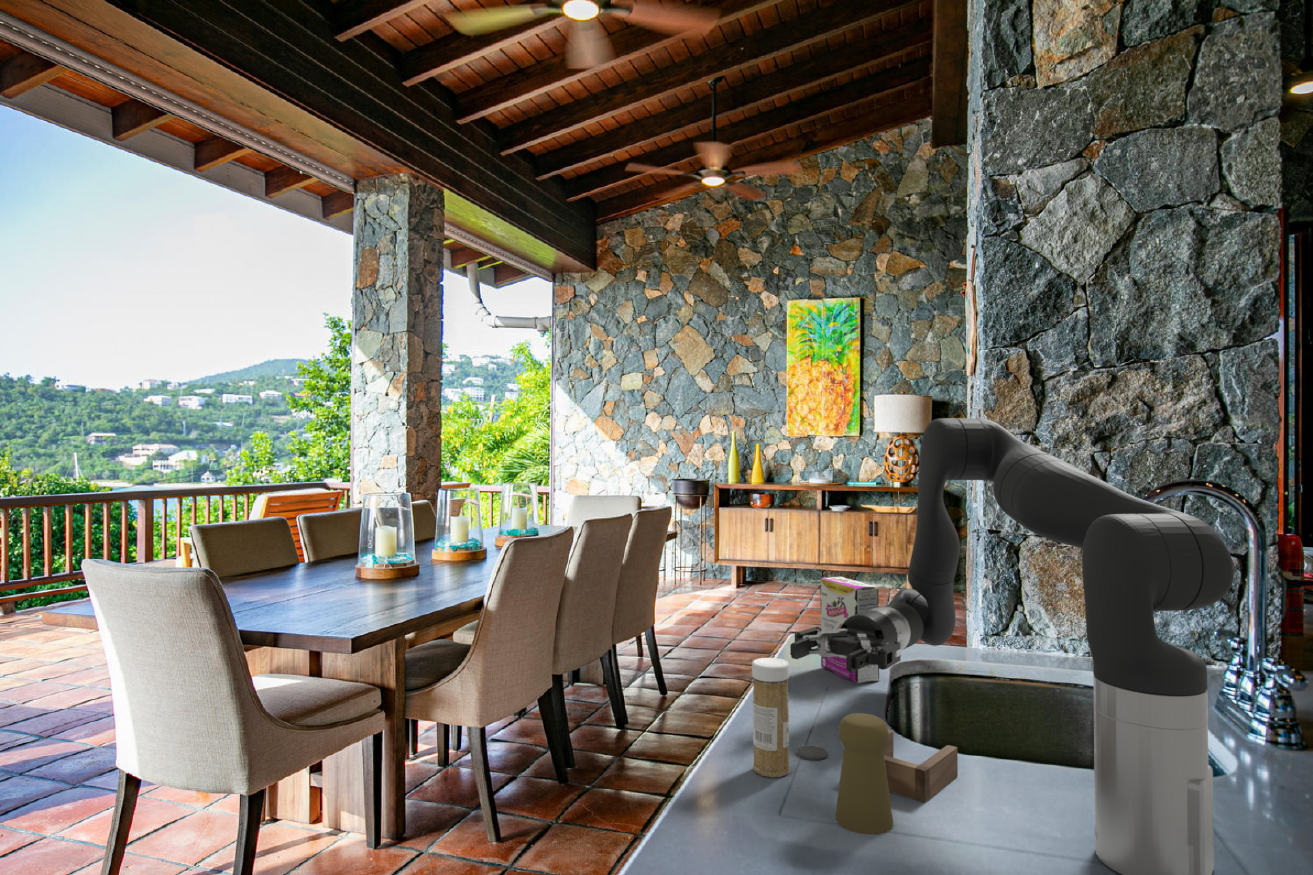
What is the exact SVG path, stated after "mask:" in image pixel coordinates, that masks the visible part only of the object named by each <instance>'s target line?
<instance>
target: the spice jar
mask: <svg viewBox="0 0 1313 875" xmlns="http://www.w3.org/2000/svg"><path fill="white" fill-rule="evenodd" d="M751 676H752V679H753V685H752V686H753V700H752V736H753V738H752V739H753V741H752V743H753V766H752V768H753V771H754V772H755V773H756V774H757V775H760V776H761V777H762V776H763V777H768V778H779V777H780V778H781V777H784V776H786V775H787V774H789V772H790V770H791V769H790V768H791V767H790V761H789V758H790V754H789V745H790V730H789V728H790V727H789V726H790V724H789V720H790V719H789V718H790V715H789V712H790V711H789V705H788V704H789V697H788V696H789V688H788V683H789V679H790V663H789V662H788V661H787V660H785V659H783V658H779V657H778V658H776V657H760V658H756V659H754V660H753V661H752V663H751Z"/></svg>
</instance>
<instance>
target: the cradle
mask: <svg viewBox="0 0 1313 875" xmlns="http://www.w3.org/2000/svg"><path fill="white" fill-rule="evenodd" d="M888 732H889V741H888V745H887V746H886V748H885V749H884V750H883V751H884V758H885V766H886V773H887V780H888V787H889V793H894V794H897V795H899V796H903V797H906V798H910V799H913V800H916V801H919V802H923V803H927V802H928V801H929V800H931V799H932V798H933V797H934V796H936V795H937V794H938V793H939V792H941V791H942V790H943V789H944V788H946V787H947V786H948V785H950V783H952V782H953V781H954V780H956V779H957V777H956V776H958V775H959V774H958V770H959V769H958V768H959V766H958V761H959V759H958V747H957V746H954V745H949V744H947V745H945V746H944V747H942V748H941V749H940V750H938V751H936V752H935V753H934V754H932V755H930V757H928V758H927V759H926V760H924V761H923V762H922V763H920V764H918V763H913V762H910V761H907V760H902V759H899V758H896V757H894V730H890V729H888ZM953 779H954V780H953ZM952 780H953V781H952ZM951 781H952V782H951Z"/></svg>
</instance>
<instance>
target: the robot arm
mask: <svg viewBox="0 0 1313 875" xmlns="http://www.w3.org/2000/svg"><path fill="white" fill-rule="evenodd" d="M921 438H922V439H921V444H920V452H919V465H918V482H917V486H918V487H917V503H916V504H917V508H916V509H917V511H916V529H915V537H914V543H913V547H912V551H911V556H910V561H909V566H908V570H907V581H908V583H909V585H910V587H911V588H903V589H902V588H901V589H899V591H898V592H896V593H895V595H894V596H893V597H892V599H891V601H890V602H889V603H888V604H887V605H885V606H884V605H883V606H882V607H880V606H879V608H873V609H870V610H867V611H864V612H862V613H859V614H856V615H853V616H851V617H849V618H848V619H846V620H845V621H844V623H843V624H842V626H841V627H840V629H836V630H835V631H821V626H814V627H811V628H807V629H804V630H801V631H797V632H794V641H793V642H792V643H791V644H790V652H789V653H790V657H791V659H793V660H800V659H803V658H804V657H806V656H810V655H819V656H820V657H821V656H822V657H834V656H839V657H840V658H846V668H847V671H851V672H854V671H856V670H858V669H861V668H863V667H866V668H871V667H873V665H878V668H879V670H887V669H889V668H890V667H893V666H894V665H896V664H897V663H899V662H900V661H901V656H902V654H901V653H902V651H904V650H906V649H907V648H909V647H912V646H914V645H915V644H917V642H919V641H921V642H923V643H925V644H927V645H929V646H933V647H936V646H937V647H938V646H939V647H940V646H942V645H943V644H946V643H947V642H948V641H949V640H950V638H951V637H952V635H953V633H954V630H955V627H956V618H957V617H956V615H957V614H956V607H955V605H956V604H955V598H954V597H955V596H954V580H955V576H956V572H957V568H958V564H959V560H960V555H961V544H960V538H959V535H958V532H957V530H956V528H955V525H954V523H953V521H952V520H951V518H950V514H949V513H948V511H947V509H946V505H945V502H944V488H945V486H946V483H947V481H988V482H993V486H992V490H993V496H994V498H995V500H996V503H997V505H998V506H999V508H1000V509H1001V510H1002V512H1004V513H1005V514H1006V515H1007V516H1008V517H1009V518H1011V519H1012V520H1014V521H1015V522H1016V523H1018V524H1019V525H1021V526H1022V527H1024V528H1025V529H1027V530H1028V531H1030V532H1032V533H1034V535H1038V536H1039V537H1041V538H1045V539H1047V540H1050V541H1054V542H1056V543H1061V544H1064V545H1068V546H1072V547H1075V548H1080V549H1082V552H1081V565H1082V566H1081V568H1082V583H1083V584H1082V585H1083V595H1084V611H1085V613H1084V614H1085V630H1086V638H1087V643H1088V647H1089V651H1090V654H1091V658H1092V668H1093V670H1092V672H1093V673H1092V674H1093V744H1094V745H1093V746H1094V747H1093V753H1094V754H1093V757H1094V759H1093V762H1094V763H1093V764H1094V765H1093V769H1094V772H1093V773H1094V823H1095V824H1094V838H1095V840H1094V842H1095V843H1094V847H1095V854H1096V856H1097V857H1098V859H1099V860H1100V861H1101V862H1102V863H1103V864H1104V865H1106V866H1107V867H1109V868H1110V869H1111V870H1113V871H1115V872H1116V873H1119V874H1121V875H1213V872H1214V869H1215V851H1214V850H1215V848H1214V847H1215V843H1214V841H1215V840H1214V839H1215V838H1214V834H1215V833H1214V832H1215V831H1214V829H1215V828H1214V782H1213V781H1214V779H1213V778H1214V774H1213V773H1214V772H1213V767H1212V766H1211V765H1210V764H1209V723H1208V722H1209V720H1208V719H1209V714H1208V713H1209V712H1208V710H1209V709H1208V708H1209V706H1208V704H1209V702H1208V701H1209V700H1208V699H1209V698H1208V669H1207V665H1206V662H1205V660H1204V659H1203V658H1202V657H1201V656H1199V655H1198V654H1197V653H1195V652H1193V651H1190V650H1189V649H1185V648H1182V647H1179V646H1177V645H1174V644H1170V643H1168V642H1165V641H1163V639H1161V638H1160V637H1159V636H1158V633H1157V629H1156V624H1155V616H1154V612H1178V611H1192V610H1197V609H1202V608H1206V607H1209V606H1212V605H1213V604H1215V603H1217V602H1219V601H1220V600H1221V599H1222V598H1224V597H1225V596H1226V595H1227V593H1228V592H1229V591H1230V589H1231V588H1232V586H1233V582H1234V579H1235V578H1234V577H1235V568H1234V562H1233V561H1234V560H1233V559H1232V555H1231V553H1230V550H1229V549H1228V547H1227V545H1226V543H1225V542H1224V540H1223V539H1222V537H1221V536H1220V535H1219V534H1218V533H1217V531H1215V529H1213V528H1212V527H1211V526H1210V525H1209V524H1207V523H1206V522H1205V521H1203V520H1201V519H1200V518H1198V517H1195V516H1193V515H1191V514H1188V513H1185V512H1182V511H1179V510H1176V509H1172V508H1169V507H1166V506H1162V505H1159V504H1156V503H1153V502H1151V501H1147V500H1144V499H1141V498H1139V497H1136V496H1134V495H1132V494H1130V493H1127V492H1125V491H1123V490H1122V489H1120V488H1118V487H1116V486H1115V485H1113V484H1110V483H1107V482H1106V481H1104V480H1102V479H1100V478H1097V476H1096V477H1095V476H1093V475H1091V474H1090V473H1087V472H1086V471H1084V470H1082V469H1080V468H1078V467H1076V466H1075V465H1073V464H1071V463H1069V462H1067V461H1065V460H1063V459H1060V458H1058V457H1057V456H1055V455H1052V454H1049V453H1048V452H1045V451H1043V450H1040V449H1038V448H1036V447H1034V446H1032V445H1030V444H1028V443H1026V442H1023V441H1022V440H1020V439H1019V438H1018V437H1016V436H1015V435H1014V434H1013V433H1011V432H1010V431H1009V430H1007V429H1006V428H1005V427H1003V426H1002V425H1000V424H999V423H997V422H995V421H993V420H990V419H986V418H978V417H977V418H976V417H974V418H970V417H969V418H968V417H966V418H960V417H959V418H954V417H951V418H950V417H947V418H946V417H942V418H935V419H933V420H931V421H930V422H929V423H928V424H927V425H926V427H925V429H924V432H923V435H922V437H921ZM825 642H827V644H828V646H829V649H830V651H825Z"/></svg>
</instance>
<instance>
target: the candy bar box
mask: <svg viewBox="0 0 1313 875" xmlns="http://www.w3.org/2000/svg"><path fill="white" fill-rule="evenodd" d="M819 582H820V586H819V587H820V588H819V589H820V592H819V593H820V628H821V631H835V630H836V629H840V627H841V626H842V624H843V623H844V621H845V620H846V619H848V618H849V617H851V616H853V615H856V614H859V613H862V612H864V611H867V610H870V609H873V608H879V607H880V606H879V605H880V604H879V598H880V597H879V586H877V585H874V584H869V583H866V582H862V581H859V580H855V579H851V578H847V577H844V576H830V577H821V578H820V579H819ZM825 651H830V649H829V646H828V644H827V642H825ZM820 666H821V668H823V669H824V670H826V671H829V672H832V673H833V674H836V675H837V676H839V677H842V678H844V679H846V680H848V681H850V682H852V683H854V684H857V685H861V684H863V685H864V684H867V683H874V682H875V683H876V682H879V681H880V669H879V668H878V665H873V667H871V668H866V667H863V668H861V669H858V670H856V671H854V672H851V671H847V668H846V658H840V657H839V656H834V657H822V656H820Z"/></svg>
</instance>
